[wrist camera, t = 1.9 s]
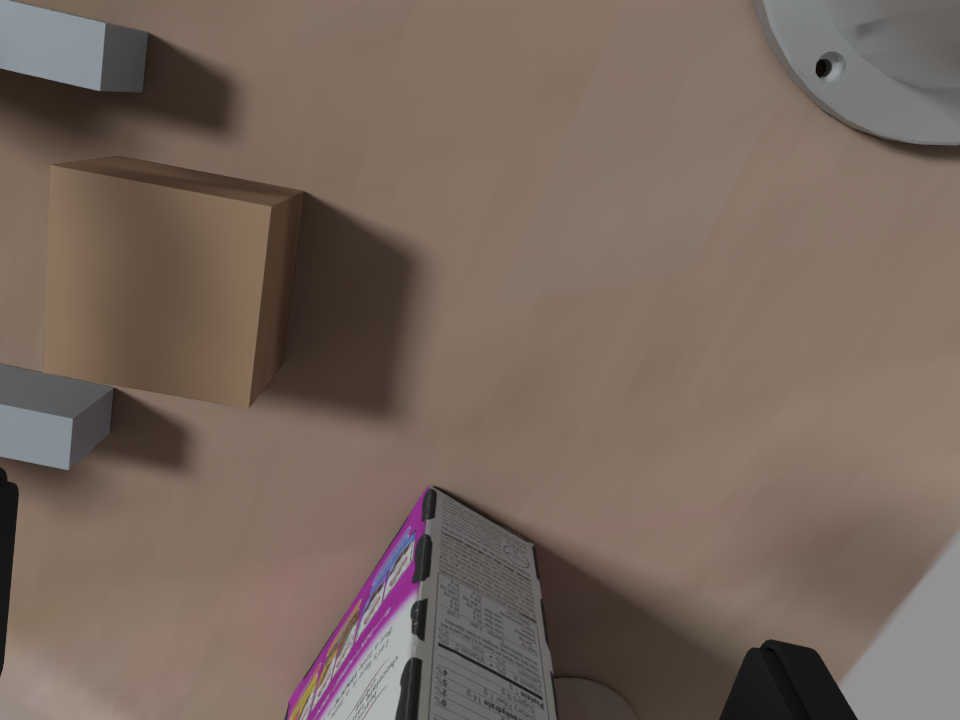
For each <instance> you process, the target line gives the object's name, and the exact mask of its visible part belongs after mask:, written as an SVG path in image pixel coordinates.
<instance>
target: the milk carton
mask: <svg viewBox="0 0 960 720" xmlns="http://www.w3.org/2000/svg"><path fill="white" fill-rule="evenodd" d="M284 720H559V715H558V706H557V697H556V690H555V686H554V672H553V665H552V660H551V653H550V651H549V642H548V635H547V627H546V620H545V612H544V606H543V599H542V592H541V585H540V580H539V572H538V565H537V558H536V552H535V546H534V544H533V543H531V542H530V541H528V540H526V539H525V538H523V537H522V536H520V535H518V534H517V533H515V532H514V531H512V530H510V529H508V528H506V527H504V526H501V525H499V524H497V523H495V522H493V521H491V520H489V519H487V518H485V517H483V516H482V515H480V514H478V513H477V512H475V511H473V510H472V509H470V508H469V507H467V506H465V505H464V504H462V503H460V502H459V501H457V500H455V499H454V498H452V497H450V496H448V495H446V494H444V493H442V492H440V491H439V490H437V489H435V488H434V487H432V486H428V487H427V488H426V489H425V491H424V493H423V494H422V496H421V497H420V499H419V500H418V502H417V503H416V505H415V507H414V508H413V510H412V511H411V513H410V514H409V516H408V517H407V519H406V521H405V522H404V524H403V525H402V527H401V528H400V530H399V532H398V533H397V535H396V536H395V538H394V539H393V541H392V542H391V544H390V545H389V547H388V548H387V550H386V552H385V553H384V555H383V556H382V558H381V559H380V561H379V562H378V564H377V566H376V567H375V569H374V570H373V572H372V573H371V575H370V577H369V578H368V580H367V581H366V583H365V584H364V586H363V587H362V589H361V591H360V592H359V594H358V595H357V597H356V598H355V600H354V601H353V603H352V605H351V606H350V608H349V609H348V611H347V612H346V614H345V615H344V617H343V618H342V620H341V622H340V623H339V625H338V626H337V628H336V629H335V630H334V632H333V633H332V635H331V637H330V638H329V640H328V641H327V643H326V644H325V646H324V647H323V649H322V651H321V652H320V654H319V655H318V657H317V658H316V660H315V661H314V663H313V665H312V666H311V668H310V669H309V671H308V672H307V674H306V675H305V677H304V678H303V680H302V681H301V683H300V684H299V686H298V687H297V689H296V690H295V692H294V693H293V695H292V697H291V698H290V700H289V703H288V709H287V713H286V716H285V719H284Z"/></svg>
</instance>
